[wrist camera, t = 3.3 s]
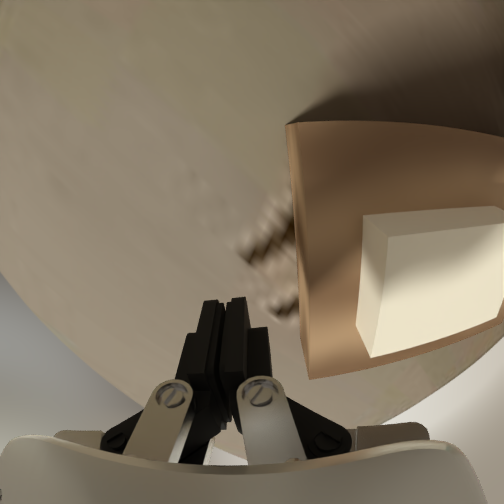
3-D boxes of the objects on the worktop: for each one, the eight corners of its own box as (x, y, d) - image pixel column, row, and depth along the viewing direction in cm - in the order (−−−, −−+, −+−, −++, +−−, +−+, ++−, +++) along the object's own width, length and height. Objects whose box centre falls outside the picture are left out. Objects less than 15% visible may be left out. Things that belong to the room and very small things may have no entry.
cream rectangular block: (362, 215, 11) (388, 237, 9) (494, 205, 11) (523, 220, 8) (355, 325, 14) (370, 358, 11) (475, 295, 13) (496, 317, 11)
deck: (285, 125, 13) (298, 122, 9) (500, 138, 12) (537, 146, 9) (300, 337, 19) (309, 379, 15) (477, 297, 18) (501, 323, 15)
